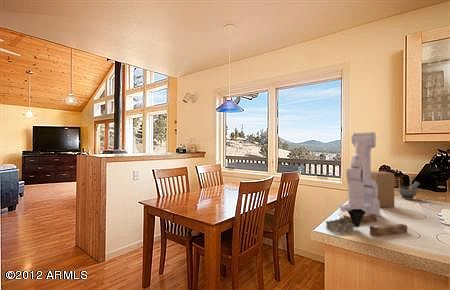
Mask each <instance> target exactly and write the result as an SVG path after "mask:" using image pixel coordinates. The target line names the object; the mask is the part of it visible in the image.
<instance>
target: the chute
mask: <svg viewBox="0 0 450 290" xmlns="http://www.w3.org/2000/svg"><path fill="white" fill-rule="evenodd" d="M343 217H344V218H345V217H346V219H347V220H349V222H350V224H351V223H352V220H351V217H350V215H349V216H348V215H346V214H344V215H343ZM343 217H342V218H343ZM377 220H378V216H377V215H375V214H366V215H364V216H363V217H362V219H361V222H360V224H365V223H373V222H377ZM352 224H353V223H352ZM407 233H408V225H407V224H404V223H397V224H390V225H381V226H373V225H369V236H371V235H372V236H371V237H373V236H377V237H383V236H384V235H385V236H390V235H391V236H392V235H398V234H399V235H400V234H407Z"/></svg>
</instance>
